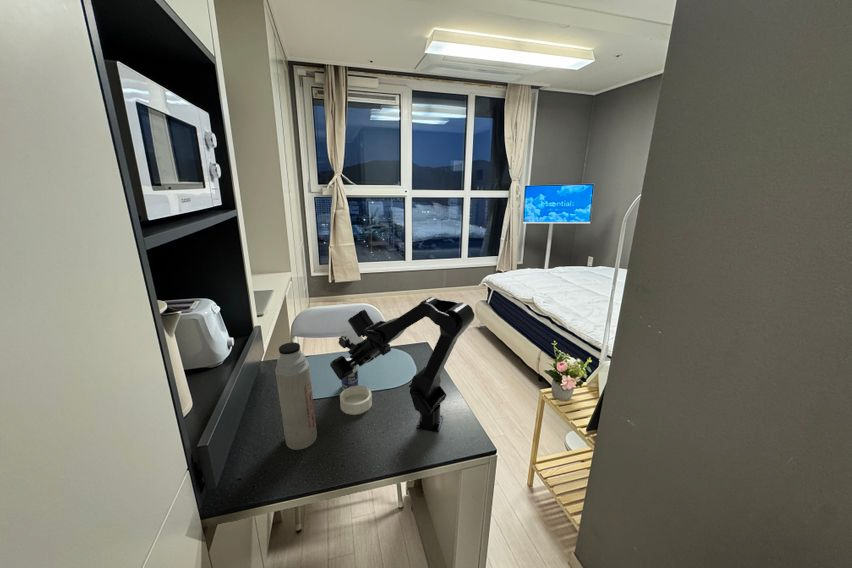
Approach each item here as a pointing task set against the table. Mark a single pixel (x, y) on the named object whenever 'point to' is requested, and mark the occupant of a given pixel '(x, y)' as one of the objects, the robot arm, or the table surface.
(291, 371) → the thermos bottle
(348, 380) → the pill bottle
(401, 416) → the table surface
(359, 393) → the bowl
